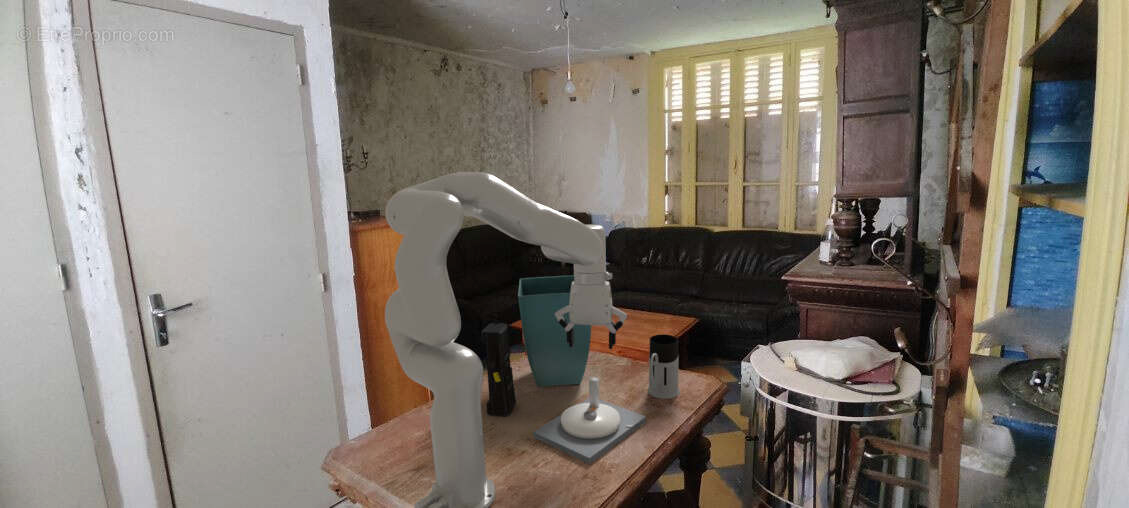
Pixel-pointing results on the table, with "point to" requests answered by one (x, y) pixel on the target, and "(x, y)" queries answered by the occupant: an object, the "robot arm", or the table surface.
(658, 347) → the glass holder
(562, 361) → the flower pot
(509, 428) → the table surface
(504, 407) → the portable radio
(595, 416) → the white round dome
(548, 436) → the stand
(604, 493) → the table surface
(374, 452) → the table surface
